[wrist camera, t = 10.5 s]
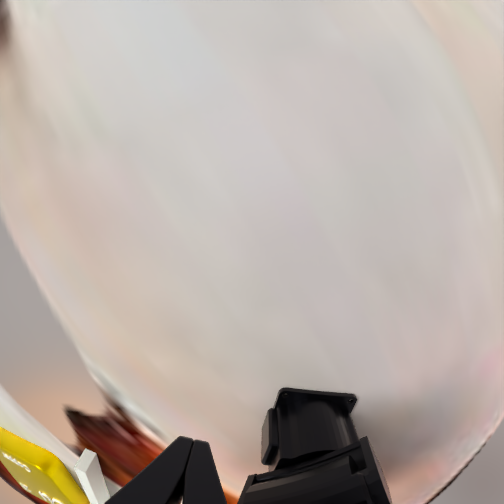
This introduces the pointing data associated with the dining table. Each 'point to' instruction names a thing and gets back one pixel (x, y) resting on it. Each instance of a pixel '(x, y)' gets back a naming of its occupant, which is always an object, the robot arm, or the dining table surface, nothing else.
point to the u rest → (92, 477)
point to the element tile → (39, 471)
